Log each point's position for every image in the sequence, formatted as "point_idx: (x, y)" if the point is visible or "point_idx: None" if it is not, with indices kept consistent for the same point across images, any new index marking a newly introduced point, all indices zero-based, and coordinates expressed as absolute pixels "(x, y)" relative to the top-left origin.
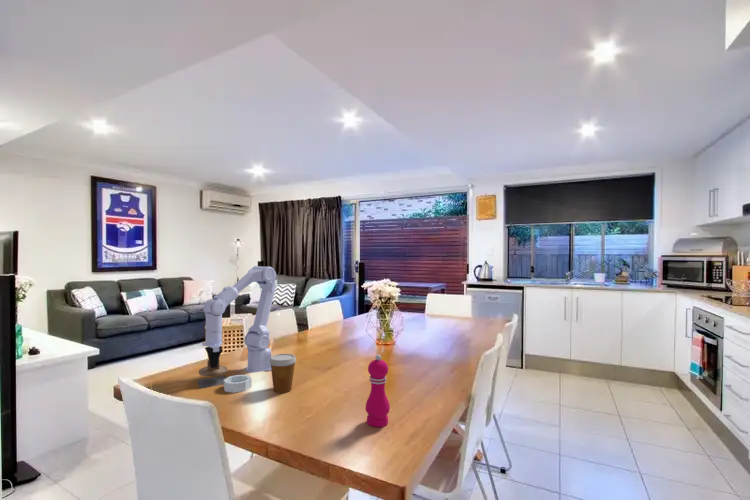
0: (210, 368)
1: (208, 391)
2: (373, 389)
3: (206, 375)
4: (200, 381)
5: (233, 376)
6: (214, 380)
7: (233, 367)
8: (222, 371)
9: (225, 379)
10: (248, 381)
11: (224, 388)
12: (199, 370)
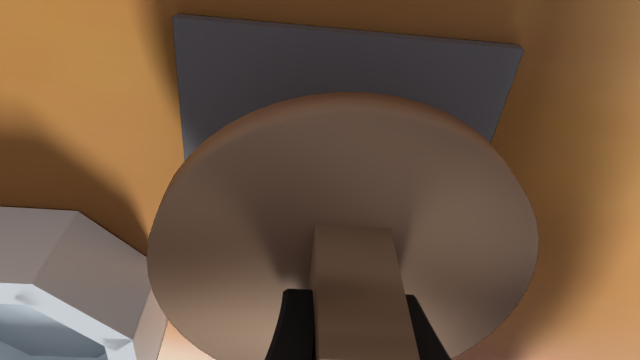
0: (311, 272)
1: (56, 84)
2: None
3: (181, 169)
4: (428, 70)
5: (112, 356)
6: None
7: (626, 355)
8: (187, 337)
9: (30, 295)
10: None
11: (6, 224)
12: (408, 129)
